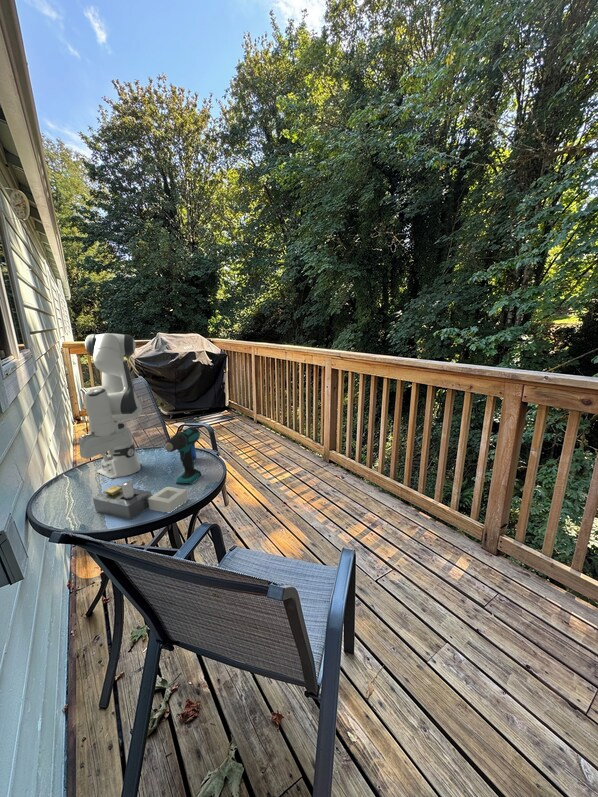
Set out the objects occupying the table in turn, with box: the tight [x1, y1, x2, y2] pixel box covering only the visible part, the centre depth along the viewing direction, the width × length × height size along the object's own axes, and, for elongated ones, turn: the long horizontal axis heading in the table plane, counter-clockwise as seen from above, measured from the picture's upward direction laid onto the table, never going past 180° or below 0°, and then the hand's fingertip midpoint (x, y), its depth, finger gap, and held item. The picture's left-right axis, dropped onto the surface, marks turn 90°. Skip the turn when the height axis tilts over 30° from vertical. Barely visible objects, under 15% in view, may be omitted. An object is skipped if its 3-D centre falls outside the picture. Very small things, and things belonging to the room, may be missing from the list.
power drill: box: [164, 426, 202, 485], centre depth 166 cm, size 26×9×25 cm, turn 168°
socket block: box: [92, 484, 153, 521], centre depth 147 cm, size 20×12×6 cm, turn 67°
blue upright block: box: [180, 443, 197, 463], centre depth 191 cm, size 8×8×16 cm
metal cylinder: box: [121, 480, 135, 501], centre depth 145 cm, size 4×4×12 cm
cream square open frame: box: [148, 486, 189, 513], centre depth 148 cm, size 11×11×5 cm
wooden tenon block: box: [103, 485, 122, 496], centre depth 149 cm, size 5×5×8 cm
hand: (108, 460), depth 145 cm, fingers closed
